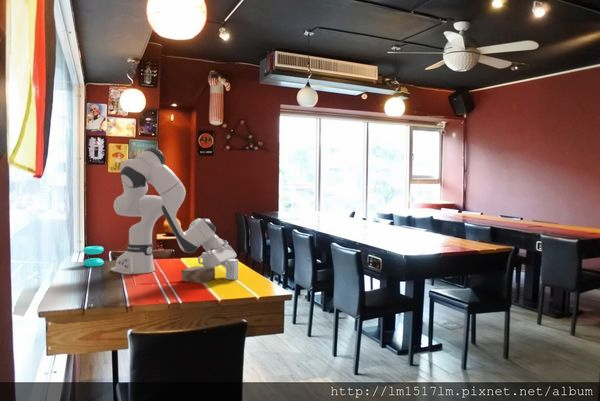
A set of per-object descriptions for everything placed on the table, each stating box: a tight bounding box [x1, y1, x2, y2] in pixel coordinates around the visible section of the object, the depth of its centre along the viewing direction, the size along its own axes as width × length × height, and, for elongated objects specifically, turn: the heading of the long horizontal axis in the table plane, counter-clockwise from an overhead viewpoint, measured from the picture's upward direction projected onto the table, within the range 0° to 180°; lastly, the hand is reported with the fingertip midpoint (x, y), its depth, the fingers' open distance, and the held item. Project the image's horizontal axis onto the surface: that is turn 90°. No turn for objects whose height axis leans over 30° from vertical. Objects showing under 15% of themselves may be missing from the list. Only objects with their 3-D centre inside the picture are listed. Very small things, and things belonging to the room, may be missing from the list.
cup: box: [197, 251, 216, 268], centre depth 246 cm, size 11×8×8 cm
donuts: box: [82, 245, 104, 268], centre depth 246 cm, size 10×10×10 cm
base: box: [181, 265, 216, 284], centre depth 218 cm, size 11×11×5 cm
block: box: [225, 258, 239, 281], centre depth 221 cm, size 4×4×9 cm
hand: (233, 268), depth 220 cm, fingers closed on block, 4 cm apart
